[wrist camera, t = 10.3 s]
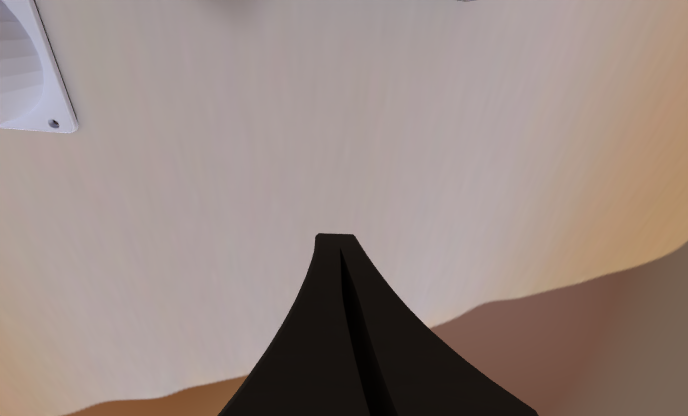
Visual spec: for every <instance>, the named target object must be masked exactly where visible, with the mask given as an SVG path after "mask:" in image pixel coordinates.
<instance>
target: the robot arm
mask: <svg viewBox="0 0 688 416" xmlns="http://www.w3.org/2000/svg"><path fill="white" fill-rule="evenodd" d="M53 120H55V121H57V122H58V124H59V126H57V125H56V124H55V123H54V122H53ZM0 128H6V129H19V130H32V131H45V132H58V133H72V132H74V131H76V130H77V129H78V123H77V120H76V117H75V114H74V111H73V109H72V106H71V103H70V100H69V98H68V95H67V92H66V89H65V86H64V84H63V81H62V78H61V75H60V72H59V70H58V67H57V64H56V61H55V59H54V56H53V53H52V50H51V47H50V45H49V42H48V39H47V36H46V34H45V31H44V28H43V25H42V22H41V20H40V17H39V14H38V11H37V8H36V6H35V3H34V0H0ZM218 416H538V414H537V412H536V411H535V410H534V409H532V408H531V407H529V406H528V405H526V404H525V403H523V402H522V401H520V400H519V399H518V398H516V397H515V396H513V395H512V394H511V393H509V392H508V391H506V390H505V389H503V388H502V387H501V386H499V385H498V384H496V383H495V382H493V381H492V380H490V379H489V378H488V377H486V376H485V375H484V374H483V373H481V372H480V371H479V370H477V369H476V368H475V367H474V366H472V365H471V364H470V363H468V362H467V361H466V360H465V359H463V358H462V357H461V356H460V355H458V354H457V353H456V352H455V351H454V350H453V349H451V348H450V347H449V346H448V345H447V344H446V343H445V342H443V341H442V340H441V339H440V338H439V337H438V336H436V335H435V334H434V333H433V332H432V331H431V330H430V329H429V328H428V327H427V326H426V325H425V324H424V323H423V322H422V321H421V320H420V319H419V318H418V317H417V316H416V315H415V314H414V313H413V312H412V311H411V310H410V309H409V308H408V307H407V306H406V305H405V303H404V302H403V301H402V300H401V299H400V298H399V297H398V295H397V294H396V293H395V292H394V291H393V289H392V288H391V287H390V286H389V285H388V283H387V282H386V281H385V279H384V278H383V277H382V275H381V274H380V273H379V271H378V270H377V269H376V267H375V266H374V265H373V263H372V262H371V260H370V259H369V257H368V256H367V254H366V253H365V251H364V250H363V248H362V247H361V245H360V244H359V242H358V240H357V239H356V237H355V236H354V235H353V234H324V233H319V234H317V235H316V237H315V248H314V253H313V257H312V261H311V263H310V266H309V269H308V272H307V275H306V277H305V280H304V282H303V284H302V286H301V289H300V291H299V293H298V295H297V298H296V300H295V302H294V304H293V306H292V307H291V309H290V311H289V313H288V315H287V317H286V318H285V320H284V322H283V324H282V325H281V327H280V329H279V330H278V332H277V334H276V335H275V337H274V339H273V340H272V342H271V343H270V345H269V347H268V348H267V350H266V351H265V353H264V354H263V356H262V357H261V358H260V360H259V361H258V363H257V364H256V365H255V367H254V368H253V370H252V371H251V373H250V374H249V376H248V377H247V378H246V380H245V381H244V383H243V384H242V385H241V387H240V388H239V389H238V391H237V392H236V393H235V394H234V396H233V397H232V398H231V399H230V401H229V402H228V403H227V405H226V406H225V407H224V408H223V409H222V411H221V412H220V413H219V414H218Z"/></svg>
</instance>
